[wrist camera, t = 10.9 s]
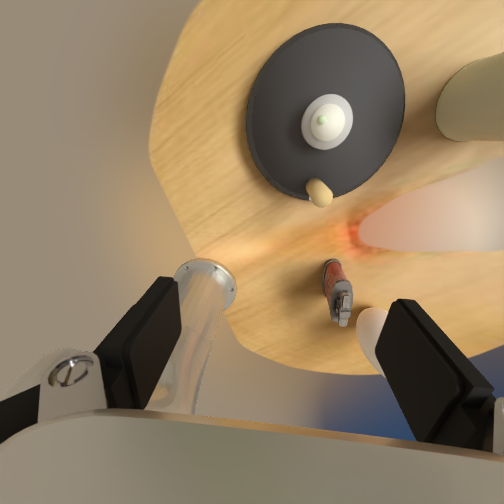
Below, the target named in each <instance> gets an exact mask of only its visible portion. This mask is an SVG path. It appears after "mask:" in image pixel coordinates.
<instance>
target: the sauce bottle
mask: <svg viewBox="0 0 504 504" xmlns="http://www.w3.org/2000/svg"><path fill="white" fill-rule="evenodd" d="M387 315H388V311H386V310H384V309H381V308H377V307H371V308H367V309H364V310H363V311H362V312H361V313H360V314H359V316H358V319H357V322H356V334H357V339H358V342H359V344H360V347H361V349H362V351H363V353H364V354H365V356H366V358H367V359H368V360H369V362H370V363H371V364H372V365H373V366H374V368H375V369H376V370H377V371H378V372H379V373H380V374H381V375H383V376H384V377H385V374H384V372H383V370H382V368H381V366H380V364H379V362H378V360H377V358H376V355H375V346H376V344H377V341H378V338H379V336H380V333H381V330H382V328H383V325H384V323H385V320H386V317H387ZM385 378H386V377H385Z"/></svg>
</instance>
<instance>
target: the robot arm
mask: <svg viewBox="0 0 504 504" xmlns="http://www.w3.org/2000/svg"><path fill="white" fill-rule="evenodd" d="M215 266H216V267H215ZM236 289H237V288H236V282H235V280H234V278H233V276H232V274H231V273H230V272H229V271H228V270H227V269H226V268H225V267H224V266H222V265H221V264H219V263H217V262H215V261H212V260H207V259H194V260H190V261H188V262H186V263H184V264H183V265H182V266H181V267H180V268H179V269H178V270H177V272H176V273H175V275H174V278H172V277H162V276H160V277H158V278H157V279H156V281H155V282H154V283H153V284H152V286H151V287H150V288H149V289H148V290H147V291H146V293H145V294H144V295H143V296H142V297H141V298H140V300H139V301H138V302H137V303H136V304H135V305H133V306H132V307H131V308H130V310H128V312H127V313H126V314H125V315H124V316H123V318H122V319H121V320H120V321H119V322H118V323H117V324H116V326H115V327H114V328H113V329H112V330H111V332H110V333H109V334H108V335H107V336H106V337H105V339H104V340H103V341H102V342H101V343H100V345H99V346H98V347H97V348H96V349H95V350H94V351H93V352H88V351H84V352H82V351H79V350H76V349H71V348H62V349H57V350H54V351H51V352H49V353H47V354H45V355H43V356H42V357H40V358H39V359H37V360H36V361H35V362H34V363H32V364H31V365H30V366H29V367H28V368H27V369H26V370H25V371H24V372H23V373H22V374H21V375H20V376H19V377H18V378H17V379H16V380H15V381H14V382H13V383H12V384H11V385H10V387H9V388H8V389H7V390H6V391H5V392H4V394H3V395H2V396H1V398H0V504H504V397H501V398H498V399H496V398H495V397H494V396H493V395H492V392H493V391H494V387H493V386H492V385H491V384H490V383H489V382H488V381H487V380H486V379H485V377H484V376H483V375H482V374H481V373H480V372H479V371H478V370H477V369H476V368H475V367H474V365H473V364H472V363H471V362H470V361H469V360H468V359H467V358H466V356H465V355H464V354H463V353H462V352H461V351H460V350H459V349H458V348H457V346H456V345H455V344H454V343H453V342H452V341H451V340H450V339H449V338H448V336H447V335H446V334H445V333H444V332H443V331H442V330H441V329H440V328H439V326H438V325H437V324H436V323H435V322H434V321H433V320H432V319H431V318H430V316H429V315H428V314H427V313H426V312H425V311H424V310H423V309H422V308H421V306H420V305H419V304H418V303H417V302H416V301H415V300H410V299H397V300H396V302H393V303H392V304H391V307H390V309H389V312H388V315H387V317H386V320H385V323H384V325H383V328H382V330H381V333H380V336H379V338H378V341H377V344H376V346H375V355H376V358H377V360H378V362H379V364H380V366H381V368H382V370H383V372H384V374H385V377H386V379H387V381H388V382H389V385H390V387H391V389H392V391H393V393H394V395H395V397H396V399H397V401H398V403H399V406H400V408H401V409H402V412H403V414H404V416H405V418H406V420H407V422H408V424H409V426H410V428H411V430H412V433H413V435H414V437H415V438H416V440H417V441H418V442H417V441H409V440H401V439H392V438H385V437H376V436H369V435H361V434H352V433H345V432H336V431H327V430H320V429H311V428H303V427H295V426H286V425H277V424H269V423H261V422H252V421H244V420H235V419H226V418H217V417H208V416H200V415H195V410H196V404H197V398H198V392H199V389H200V385H201V381H202V377H203V374H204V370H205V367H206V363H207V360H208V357H209V354H210V351H211V347H212V344H213V341H214V338H215V335H216V331H217V328H218V325H219V321H220V318H221V315H222V312H223V311H224V310H226V309H227V308H229V307H230V306H231V304H232V303H233V301H234V299H235V296H236Z"/></svg>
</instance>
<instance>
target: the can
mask: <svg viewBox="0 0 504 504" xmlns="http://www.w3.org/2000/svg"><path fill="white" fill-rule="evenodd" d="M436 122H437V126H438V128H439V130H440V131H441V133H442V134H443V135H444V136H445V137H447V138H449V139H451V140H454V141H459V142H465V141H475V140H476V141H504V52H503V53H500V54H497V55H495V56H492V57H487V58H482V59H479V60H476V61H474V62H472V63H470V64H468V65H467V66H465V67H464V68H462V69H461V70H460V71H459V72H457V73H456V74H455V75H454V76H453V77H452V78H451V80H450V81H449V82H448V83H447V85H446V86H445V88H444V89H443V91H442V93H441V95H440V97H439V100H438V103H437V107H436Z"/></svg>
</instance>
